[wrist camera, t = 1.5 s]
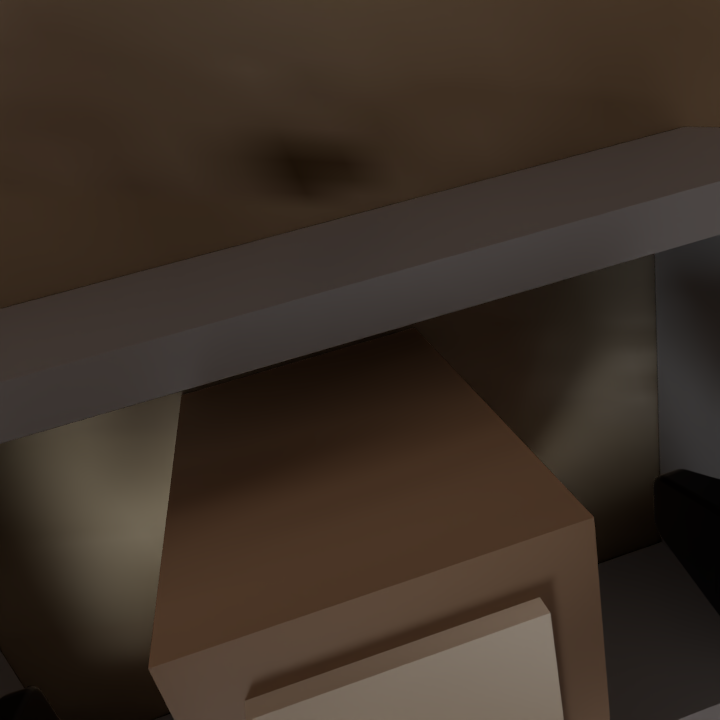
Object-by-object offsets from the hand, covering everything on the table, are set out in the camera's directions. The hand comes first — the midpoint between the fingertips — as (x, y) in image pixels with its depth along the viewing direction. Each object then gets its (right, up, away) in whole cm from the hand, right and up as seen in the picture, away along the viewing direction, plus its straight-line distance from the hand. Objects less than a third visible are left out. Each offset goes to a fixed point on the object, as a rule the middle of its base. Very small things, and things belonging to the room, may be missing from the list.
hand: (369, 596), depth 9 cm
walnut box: (-1, +1, +3) cm, 3 cm away
